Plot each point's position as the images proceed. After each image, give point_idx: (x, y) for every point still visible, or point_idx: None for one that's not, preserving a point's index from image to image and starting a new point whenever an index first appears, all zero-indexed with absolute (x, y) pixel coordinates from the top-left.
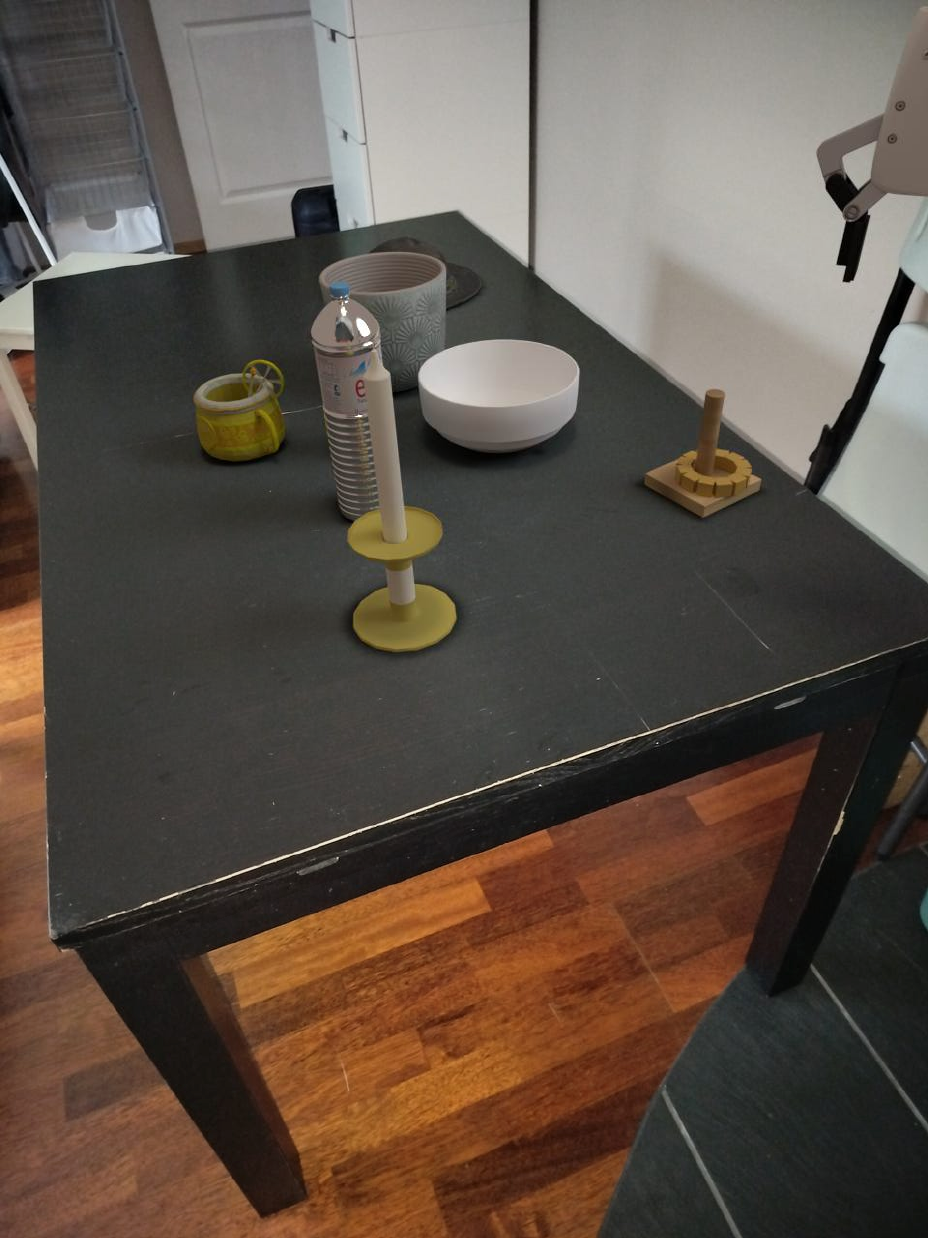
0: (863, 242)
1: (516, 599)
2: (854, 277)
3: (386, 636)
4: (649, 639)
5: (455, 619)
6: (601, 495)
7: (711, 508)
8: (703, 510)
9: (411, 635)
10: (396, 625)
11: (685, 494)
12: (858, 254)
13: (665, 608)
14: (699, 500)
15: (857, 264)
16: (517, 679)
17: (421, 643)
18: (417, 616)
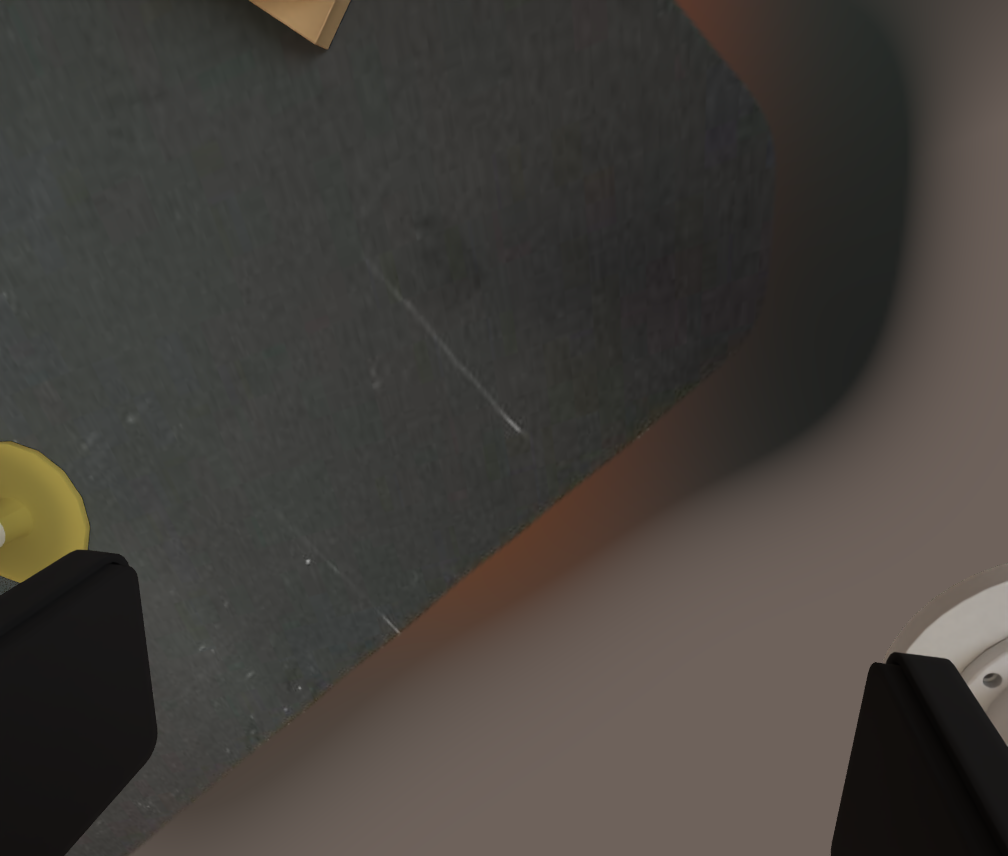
0: (17, 757)
1: (132, 427)
2: (149, 713)
3: (23, 566)
4: (346, 462)
5: (80, 503)
6: (112, 37)
7: (332, 24)
8: (318, 45)
9: (50, 555)
10: (21, 541)
11: (263, 5)
12: (57, 853)
13: (346, 379)
14: (298, 22)
15: (104, 772)
16: (214, 589)
17: None
18: (32, 518)
